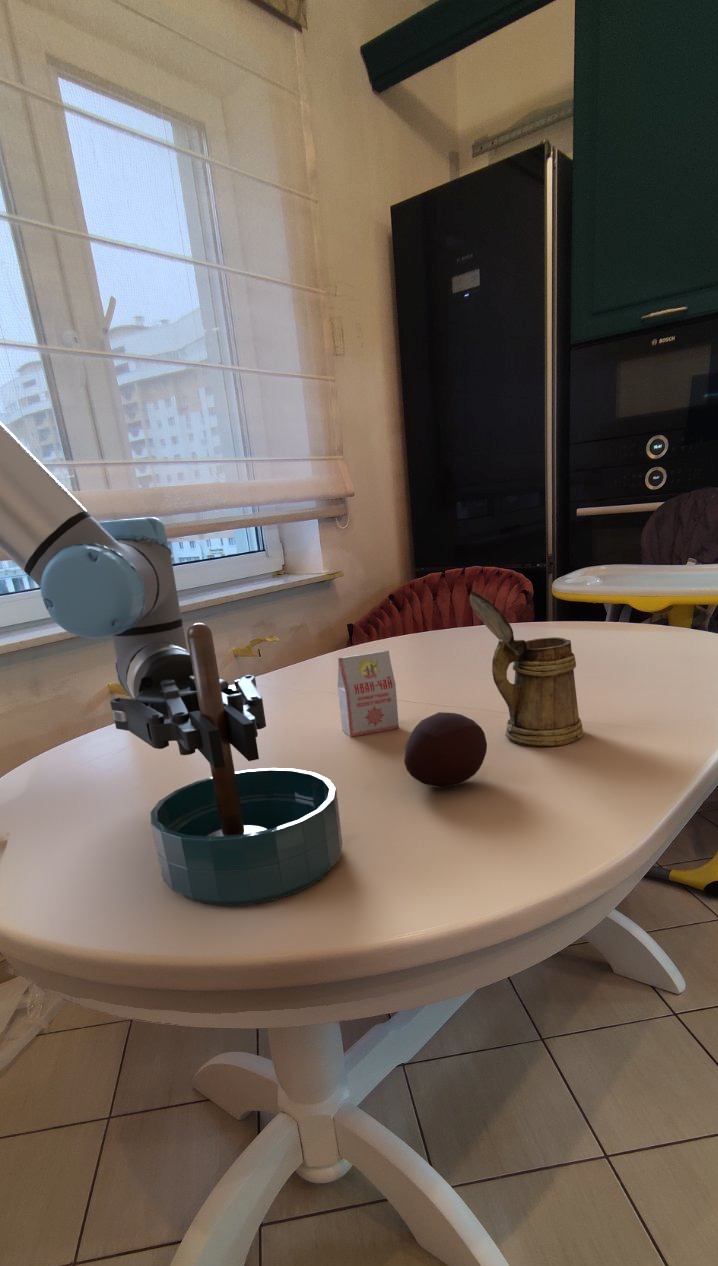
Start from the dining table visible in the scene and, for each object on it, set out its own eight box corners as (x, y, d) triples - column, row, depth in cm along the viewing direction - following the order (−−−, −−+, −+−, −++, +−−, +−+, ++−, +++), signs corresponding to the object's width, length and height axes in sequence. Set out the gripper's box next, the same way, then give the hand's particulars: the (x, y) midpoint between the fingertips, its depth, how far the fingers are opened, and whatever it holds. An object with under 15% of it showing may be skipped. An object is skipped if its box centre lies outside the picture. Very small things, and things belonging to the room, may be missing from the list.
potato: (506, 783, 74) (505, 710, 71) (434, 808, 70) (429, 731, 67) (457, 765, 80) (454, 697, 78) (387, 786, 76) (381, 716, 73)
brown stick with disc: (188, 881, 58) (137, 631, 51) (226, 848, 63) (185, 617, 56) (254, 888, 56) (211, 629, 49) (287, 854, 61) (253, 614, 54)
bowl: (127, 900, 58) (110, 832, 56) (222, 823, 71) (212, 765, 69) (298, 920, 53) (287, 846, 51) (367, 832, 66) (361, 771, 64)
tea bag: (342, 730, 97) (334, 656, 94) (389, 721, 99) (383, 648, 95) (350, 736, 94) (342, 660, 90) (398, 728, 96) (393, 652, 92)
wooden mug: (459, 738, 89) (453, 588, 83) (557, 720, 92) (559, 574, 86) (491, 759, 81) (487, 594, 75) (597, 738, 84) (602, 578, 78)
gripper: (250, 710, 75) (337, 772, 54) (102, 739, 70) (137, 820, 49) (239, 637, 72) (326, 674, 52) (84, 661, 67) (113, 713, 47)
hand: (234, 745), depth 51 cm, fingers closed on brown stick with disc, 2 cm apart
